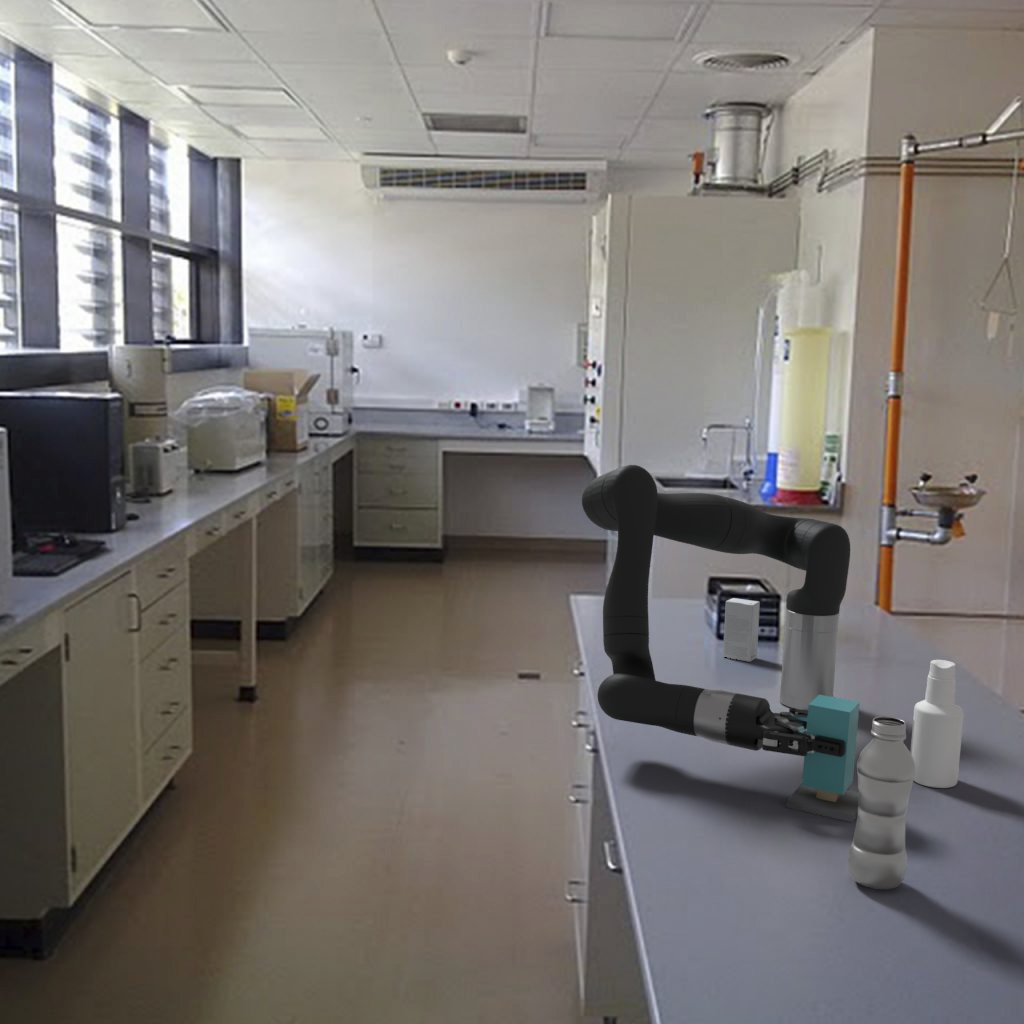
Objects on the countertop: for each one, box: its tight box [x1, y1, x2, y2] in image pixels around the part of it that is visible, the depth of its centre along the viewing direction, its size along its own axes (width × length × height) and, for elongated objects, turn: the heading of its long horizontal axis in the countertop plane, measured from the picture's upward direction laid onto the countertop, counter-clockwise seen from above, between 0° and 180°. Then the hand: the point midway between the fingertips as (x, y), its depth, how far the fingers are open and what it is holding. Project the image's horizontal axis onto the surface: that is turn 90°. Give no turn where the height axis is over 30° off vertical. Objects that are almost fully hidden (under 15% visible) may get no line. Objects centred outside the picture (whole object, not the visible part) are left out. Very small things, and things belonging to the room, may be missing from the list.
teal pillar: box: [801, 695, 861, 795], centre depth 155 cm, size 6×6×12 cm
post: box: [786, 783, 859, 823], centre depth 156 cm, size 9×9×8 cm
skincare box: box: [722, 597, 761, 663], centre depth 230 cm, size 6×4×12 cm
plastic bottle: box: [847, 716, 916, 890], centre depth 131 cm, size 6×7×20 cm
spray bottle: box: [909, 659, 964, 789], centre depth 165 cm, size 7×7×18 cm
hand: (849, 742), depth 154 cm, fingers closed on teal pillar, 5 cm apart
